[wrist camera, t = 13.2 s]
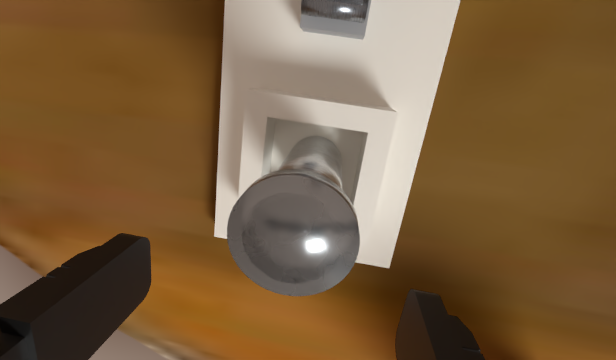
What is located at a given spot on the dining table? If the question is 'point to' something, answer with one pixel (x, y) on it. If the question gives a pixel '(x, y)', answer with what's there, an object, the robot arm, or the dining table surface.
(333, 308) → the dining table surface
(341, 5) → the latch lever
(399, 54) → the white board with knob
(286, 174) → the steel pin
